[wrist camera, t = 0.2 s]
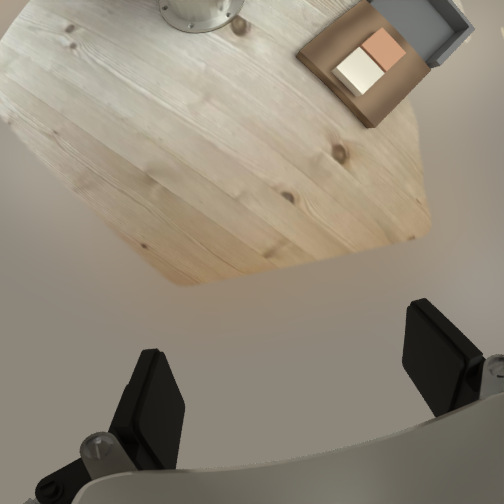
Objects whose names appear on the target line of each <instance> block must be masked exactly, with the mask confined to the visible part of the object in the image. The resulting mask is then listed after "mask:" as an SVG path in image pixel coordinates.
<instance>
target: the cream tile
mask: <svg viewBox="0 0 504 504" xmlns="http://www.w3.org/2000/svg"><path fill="white" fill-rule="evenodd" d="M331 72H332V73H333V74H334V75H335V76H336V77H337V78H338V79H339V80H340V81H341V82H342V83H343V84H344V85H345V86H346V87H347V88H348V89H349V90H350V91H351V92H352V93H353V94H354V95H355V96H356V97H358V96H360V95H363V94H364V93H365V92H366V91H367V90H368V89H369V88H370V87H371V86H372V85H373V84H374V83H375V82H376V81H377V80H378V79H379V78H380V77H381V76H382V75H384V74H385V73H384V72H383V71H382V70H381V69H380V68H379V67H378V66H377V64H376V63H375V62H374V61H373V60H372V59H371V58H370V57H369V56H368V55H367V54H366V53H365V52H364V51H363V50H362V49H361V48H360V47H358V48H357V49H356V50H354V51H353V52H352V53H351V54H350V55H348V56H347V57H346V58H345V59H344V60H343V61H342V62H341V63H340V64H338V65H337V66H336V67H335V68H334V69H333V70H332V71H331Z"/></svg>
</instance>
